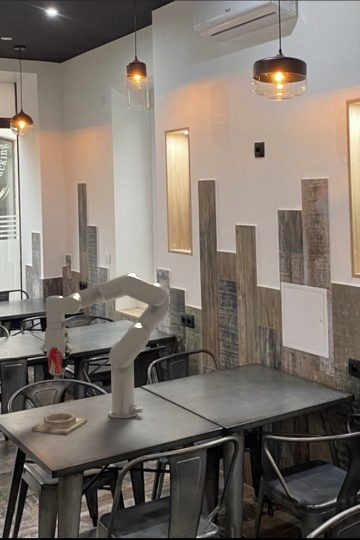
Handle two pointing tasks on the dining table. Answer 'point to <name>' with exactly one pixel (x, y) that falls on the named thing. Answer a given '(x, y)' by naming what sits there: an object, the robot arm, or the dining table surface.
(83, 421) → the drink holder
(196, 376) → the dining table surface
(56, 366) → the soda can
